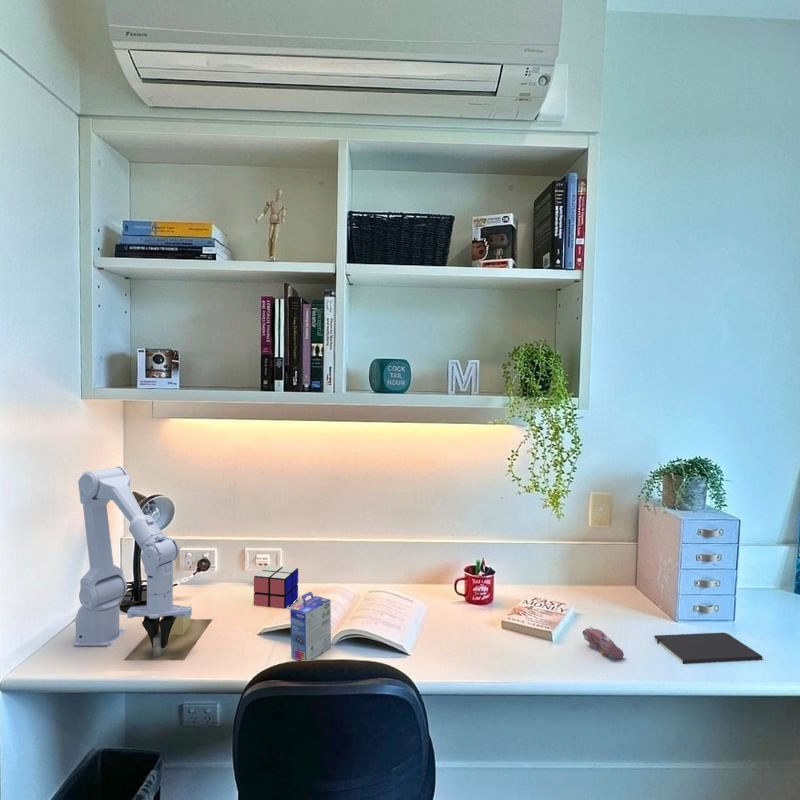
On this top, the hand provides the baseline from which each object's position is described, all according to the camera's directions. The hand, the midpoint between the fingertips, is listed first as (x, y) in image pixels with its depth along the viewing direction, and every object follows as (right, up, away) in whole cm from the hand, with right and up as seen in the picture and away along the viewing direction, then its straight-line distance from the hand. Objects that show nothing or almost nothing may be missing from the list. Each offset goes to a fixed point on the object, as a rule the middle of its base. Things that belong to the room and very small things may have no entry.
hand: (159, 646), depth 132 cm
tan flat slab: (0, -2, +8) cm, 8 cm away
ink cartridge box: (+36, -4, +4) cm, 36 cm away
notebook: (+137, -6, +9) cm, 137 cm away
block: (-1, -1, +12) cm, 12 cm away
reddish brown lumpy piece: (+109, -5, +6) cm, 109 cm away
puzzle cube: (+21, -2, +32) cm, 39 cm away
